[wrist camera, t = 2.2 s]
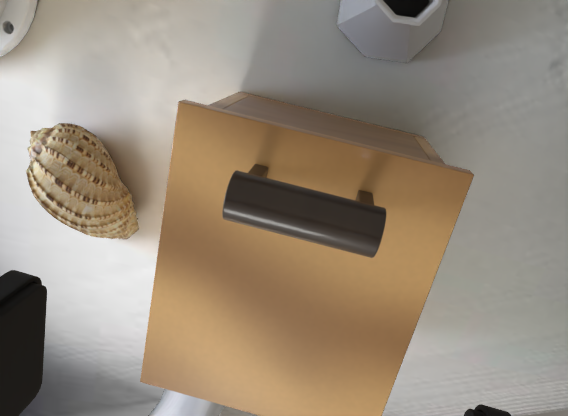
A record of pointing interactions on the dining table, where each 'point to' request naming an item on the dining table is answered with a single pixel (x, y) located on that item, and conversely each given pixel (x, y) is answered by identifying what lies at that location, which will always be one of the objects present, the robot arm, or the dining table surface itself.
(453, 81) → the dining table surface
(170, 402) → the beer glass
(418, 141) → the chest
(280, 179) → the lid
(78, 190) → the seashell
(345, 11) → the flask
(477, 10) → the dining table surface
